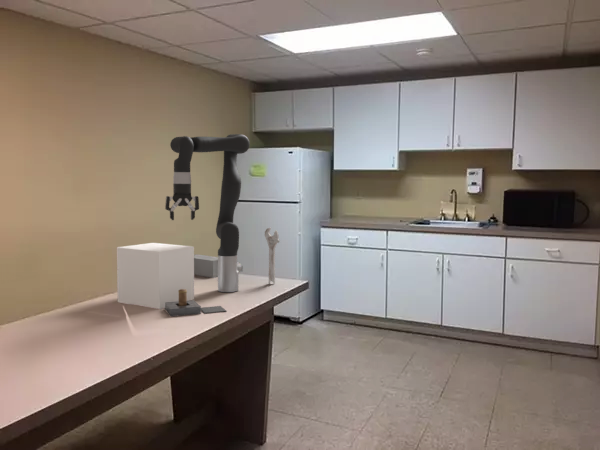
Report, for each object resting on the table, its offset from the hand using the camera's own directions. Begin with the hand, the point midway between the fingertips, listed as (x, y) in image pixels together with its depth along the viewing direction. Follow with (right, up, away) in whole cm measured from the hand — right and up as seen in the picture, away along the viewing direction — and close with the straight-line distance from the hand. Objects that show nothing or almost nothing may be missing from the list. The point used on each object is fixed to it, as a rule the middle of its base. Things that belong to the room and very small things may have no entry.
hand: (182, 219), depth 230 cm
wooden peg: (+4, -38, -16) cm, 41 cm away
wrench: (+37, -34, +39) cm, 63 cm away
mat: (+15, -38, -13) cm, 43 cm away
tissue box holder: (+2, -31, +69) cm, 75 cm away
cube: (-12, -37, +4) cm, 39 cm away
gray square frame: (+4, -38, -16) cm, 41 cm away
